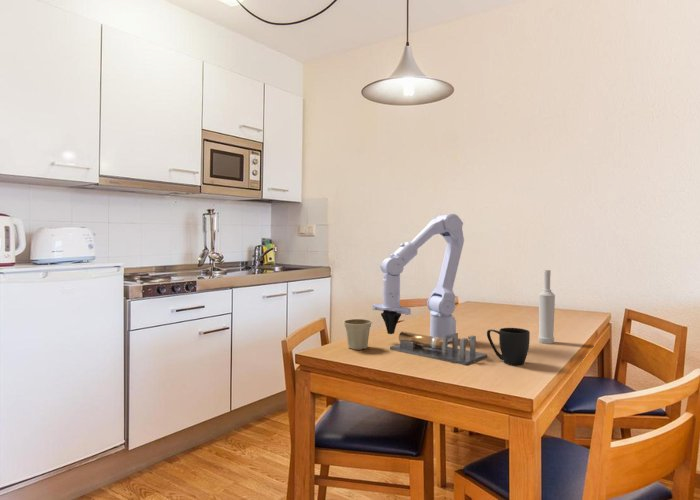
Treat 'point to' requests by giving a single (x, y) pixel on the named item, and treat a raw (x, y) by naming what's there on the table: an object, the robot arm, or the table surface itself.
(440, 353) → the firebox plate
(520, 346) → the mug
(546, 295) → the bottle
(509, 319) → the table surface
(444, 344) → the collar
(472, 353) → the collar
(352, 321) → the flower pot
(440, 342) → the copper tube
